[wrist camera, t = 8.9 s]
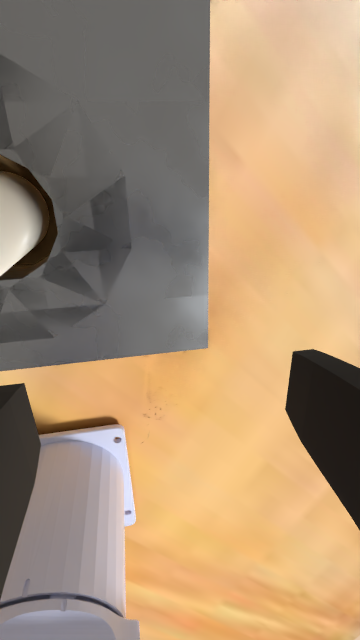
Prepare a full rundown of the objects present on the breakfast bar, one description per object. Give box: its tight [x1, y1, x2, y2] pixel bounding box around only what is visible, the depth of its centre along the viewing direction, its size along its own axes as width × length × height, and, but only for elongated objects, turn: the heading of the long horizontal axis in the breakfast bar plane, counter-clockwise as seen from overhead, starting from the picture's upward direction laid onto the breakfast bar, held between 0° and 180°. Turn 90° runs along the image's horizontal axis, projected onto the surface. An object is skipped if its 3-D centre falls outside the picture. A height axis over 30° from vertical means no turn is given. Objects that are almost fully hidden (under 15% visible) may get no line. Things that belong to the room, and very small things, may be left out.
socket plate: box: [0, 0, 210, 371], centre depth 14 cm, size 14×18×2 cm
